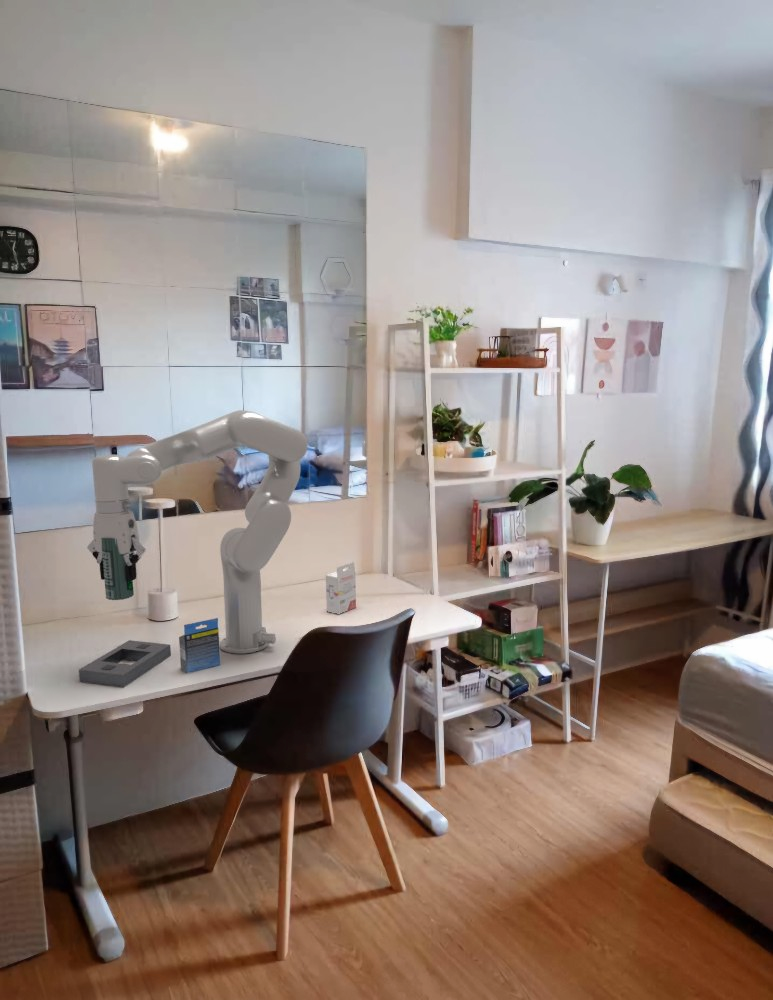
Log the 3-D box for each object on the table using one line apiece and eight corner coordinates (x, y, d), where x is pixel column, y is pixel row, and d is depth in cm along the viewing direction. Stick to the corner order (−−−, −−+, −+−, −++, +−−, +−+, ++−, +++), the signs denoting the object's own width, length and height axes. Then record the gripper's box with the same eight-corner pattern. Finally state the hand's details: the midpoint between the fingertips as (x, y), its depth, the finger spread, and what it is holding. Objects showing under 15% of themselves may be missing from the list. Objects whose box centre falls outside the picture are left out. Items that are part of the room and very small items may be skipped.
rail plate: (170, 655, 193) (170, 644, 192) (124, 687, 174) (123, 674, 173) (130, 651, 196) (129, 639, 196) (79, 681, 177) (78, 669, 177)
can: (137, 596, 183) (132, 536, 181) (113, 601, 179) (107, 540, 177) (126, 590, 188) (121, 532, 185) (102, 596, 184) (97, 536, 181)
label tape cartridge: (214, 660, 190) (212, 613, 188) (220, 665, 187) (218, 617, 185) (180, 668, 185) (177, 620, 183) (186, 674, 182) (183, 625, 179)
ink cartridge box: (344, 605, 234) (343, 559, 231) (356, 608, 231) (356, 561, 228) (325, 612, 227) (324, 564, 225) (338, 615, 224) (337, 567, 222)
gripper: (153, 505, 181) (158, 577, 184) (92, 502, 186) (98, 572, 189) (134, 511, 174) (140, 586, 177) (71, 508, 179) (78, 581, 182)
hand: (118, 578), depth 183 cm, fingers closed on can, 6 cm apart
